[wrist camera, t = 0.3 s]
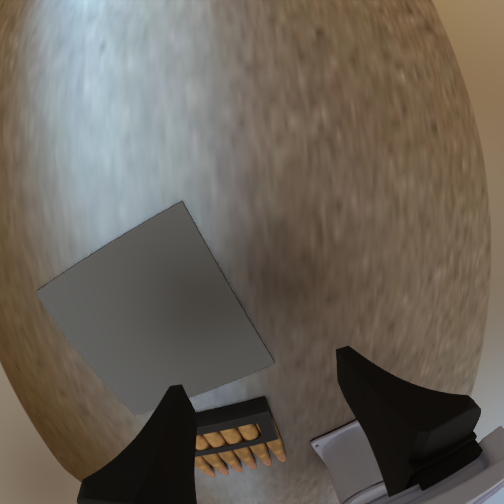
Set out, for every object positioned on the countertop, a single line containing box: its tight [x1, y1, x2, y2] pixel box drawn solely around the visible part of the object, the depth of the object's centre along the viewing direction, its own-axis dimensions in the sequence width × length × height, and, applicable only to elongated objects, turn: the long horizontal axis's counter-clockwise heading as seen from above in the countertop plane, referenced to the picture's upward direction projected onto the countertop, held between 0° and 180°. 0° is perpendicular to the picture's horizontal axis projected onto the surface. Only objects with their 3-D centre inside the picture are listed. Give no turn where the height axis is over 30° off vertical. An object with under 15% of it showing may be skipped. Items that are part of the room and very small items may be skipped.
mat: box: [36, 201, 275, 415], centre depth 22 cm, size 15×15×1 cm
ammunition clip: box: [195, 397, 286, 477], centre depth 27 cm, size 11×2×12 cm
